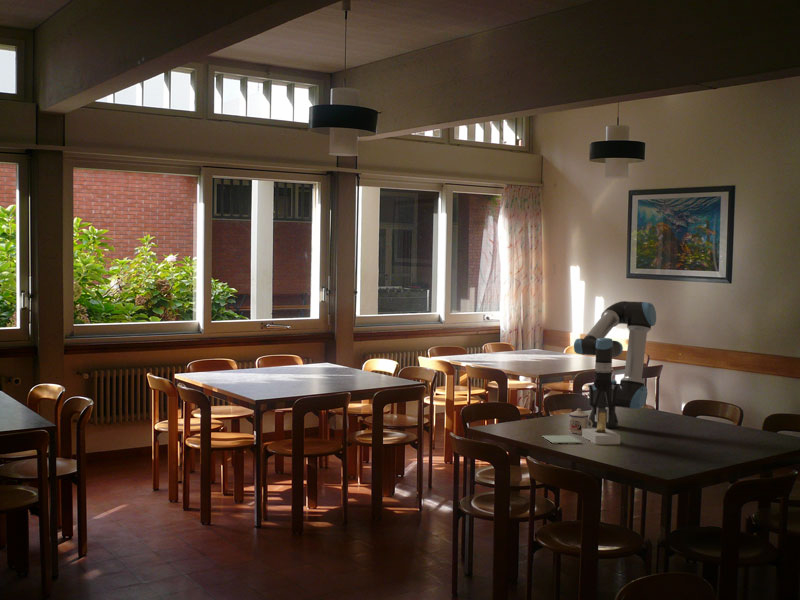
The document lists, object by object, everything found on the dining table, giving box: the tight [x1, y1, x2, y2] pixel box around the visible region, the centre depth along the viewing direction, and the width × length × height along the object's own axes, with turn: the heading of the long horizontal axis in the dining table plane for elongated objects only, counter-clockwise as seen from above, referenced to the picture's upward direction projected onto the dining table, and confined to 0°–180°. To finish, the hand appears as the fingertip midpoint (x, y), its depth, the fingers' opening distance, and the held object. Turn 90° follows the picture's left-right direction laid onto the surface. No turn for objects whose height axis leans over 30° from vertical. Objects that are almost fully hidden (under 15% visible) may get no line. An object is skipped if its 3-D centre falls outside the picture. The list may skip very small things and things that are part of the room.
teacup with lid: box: [568, 408, 593, 435], centre depth 396 cm, size 12×9×12 cm
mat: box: [541, 434, 583, 444], centre depth 377 cm, size 14×14×1 cm
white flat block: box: [581, 428, 621, 445], centre depth 380 cm, size 16×12×4 cm
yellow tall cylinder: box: [596, 408, 607, 433], centre depth 380 cm, size 4×4×12 cm
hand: (601, 421), depth 380 cm, fingers closed on yellow tall cylinder, 4 cm apart
